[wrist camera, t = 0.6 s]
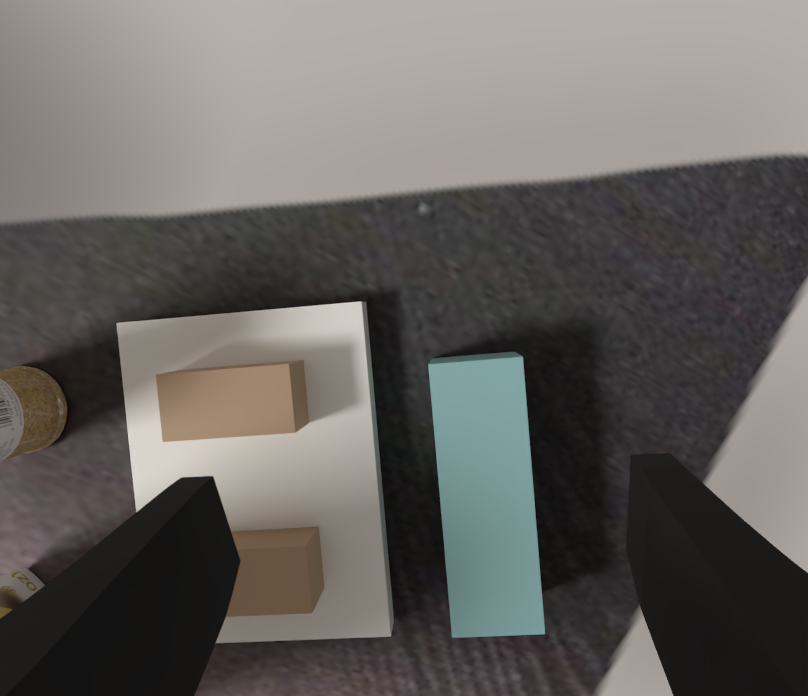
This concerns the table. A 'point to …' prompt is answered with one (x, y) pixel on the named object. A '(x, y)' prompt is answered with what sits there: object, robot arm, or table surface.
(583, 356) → the table surface
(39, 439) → the sprinkles bottle
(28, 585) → the juice carton
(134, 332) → the display stand
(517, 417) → the teal bar
